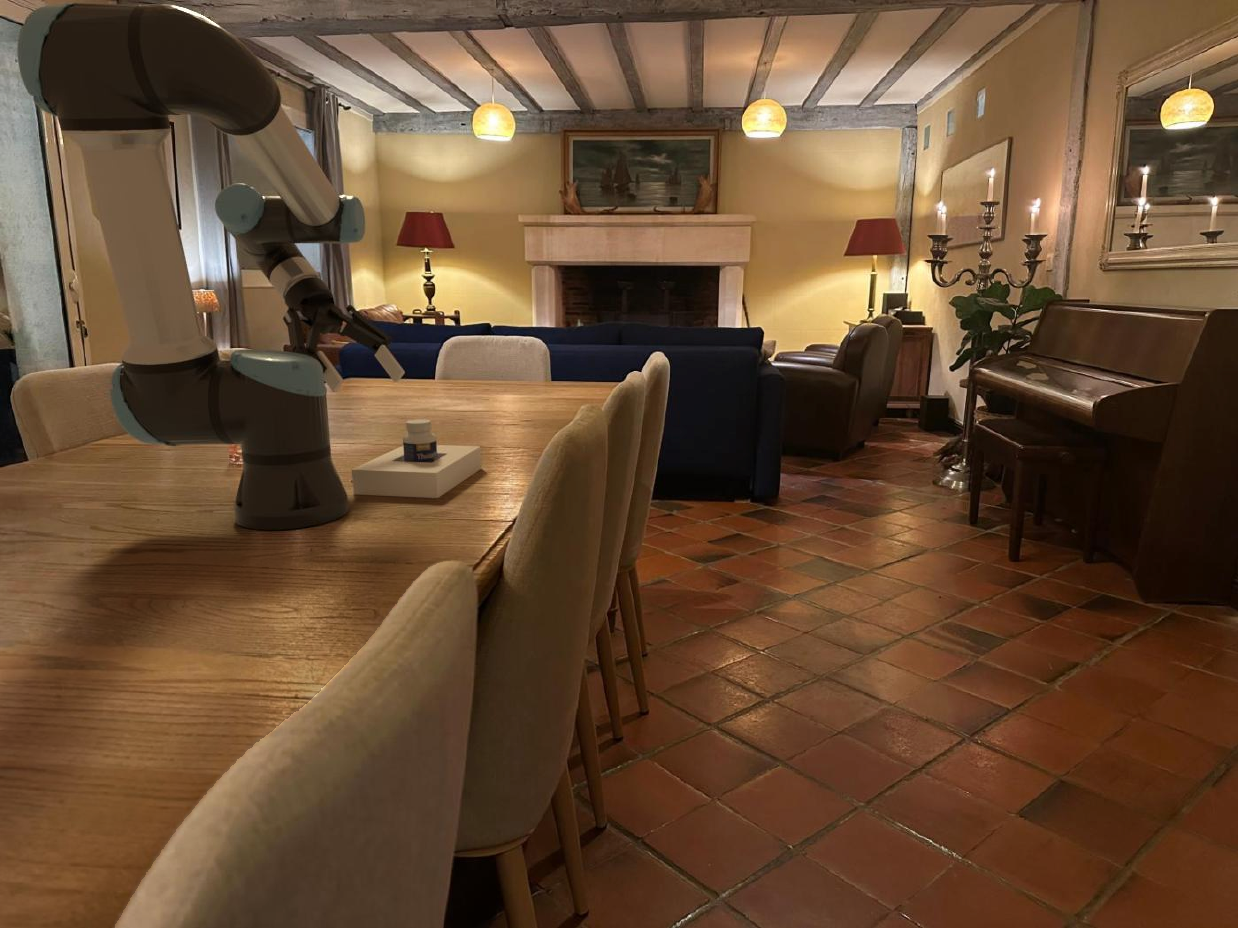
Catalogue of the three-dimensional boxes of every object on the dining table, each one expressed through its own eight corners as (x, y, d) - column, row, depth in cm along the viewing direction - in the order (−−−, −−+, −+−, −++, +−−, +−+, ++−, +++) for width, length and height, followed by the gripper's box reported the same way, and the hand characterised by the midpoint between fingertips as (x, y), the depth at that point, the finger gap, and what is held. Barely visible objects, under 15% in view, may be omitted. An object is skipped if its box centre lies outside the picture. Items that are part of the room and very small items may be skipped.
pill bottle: (420, 484, 132) (416, 425, 130) (398, 479, 136) (394, 422, 133) (445, 477, 137) (442, 420, 134) (424, 473, 140) (420, 417, 138)
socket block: (353, 494, 128) (351, 469, 127) (407, 465, 147) (406, 443, 146) (437, 498, 125) (436, 472, 124) (481, 468, 144) (480, 446, 143)
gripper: (349, 303, 154) (412, 387, 150) (230, 308, 133) (299, 406, 129) (367, 275, 150) (432, 360, 146) (247, 275, 129) (319, 374, 125)
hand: (370, 382), depth 137 cm, fingers open, 13 cm apart
